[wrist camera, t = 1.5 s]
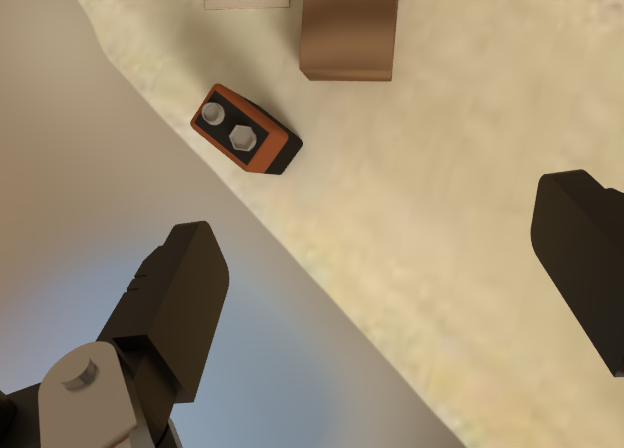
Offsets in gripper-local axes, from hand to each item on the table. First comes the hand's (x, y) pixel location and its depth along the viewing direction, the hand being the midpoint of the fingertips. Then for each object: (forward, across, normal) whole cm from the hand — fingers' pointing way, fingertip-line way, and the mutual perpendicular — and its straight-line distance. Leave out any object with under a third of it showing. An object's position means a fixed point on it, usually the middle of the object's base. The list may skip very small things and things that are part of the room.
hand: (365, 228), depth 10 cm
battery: (+30, +9, +9) cm, 32 cm away
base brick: (+33, -1, +1) cm, 33 cm away
